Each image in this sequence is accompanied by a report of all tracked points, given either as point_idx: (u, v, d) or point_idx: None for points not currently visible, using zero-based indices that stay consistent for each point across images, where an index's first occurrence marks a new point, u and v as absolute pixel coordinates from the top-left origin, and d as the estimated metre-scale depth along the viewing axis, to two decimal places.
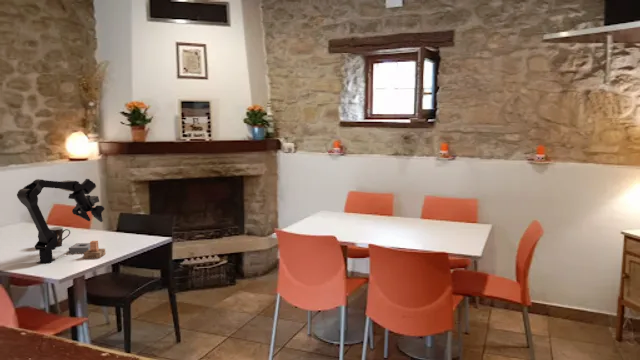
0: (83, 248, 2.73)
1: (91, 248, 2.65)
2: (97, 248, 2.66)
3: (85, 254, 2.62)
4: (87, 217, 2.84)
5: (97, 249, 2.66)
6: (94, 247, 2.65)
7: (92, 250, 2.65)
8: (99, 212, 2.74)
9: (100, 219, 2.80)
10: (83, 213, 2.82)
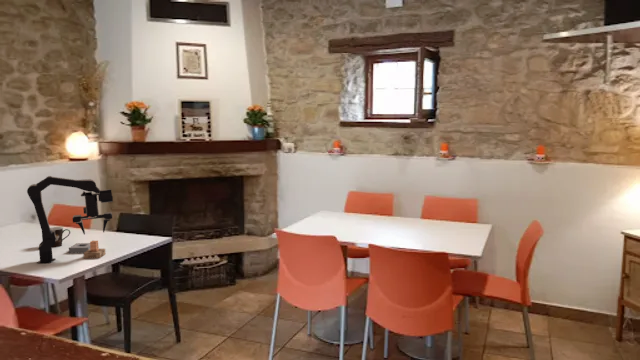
0: (83, 248, 2.73)
1: (91, 248, 2.65)
2: (97, 248, 2.66)
3: (85, 254, 2.62)
4: None
5: (97, 249, 2.66)
6: (94, 247, 2.65)
7: (92, 250, 2.65)
8: None
9: None
10: (82, 223, 2.63)
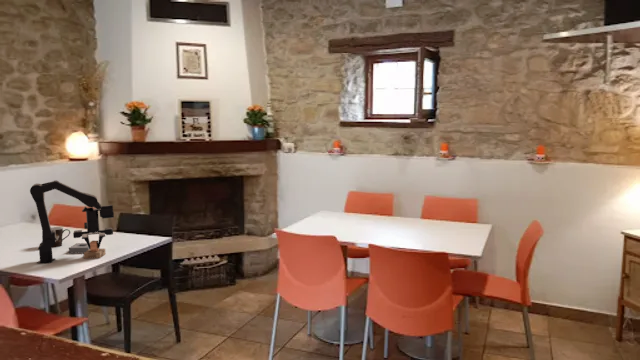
0: (83, 248, 2.73)
1: (91, 248, 2.65)
2: (97, 248, 2.66)
3: (85, 254, 2.62)
4: None
5: (97, 249, 2.66)
6: (94, 247, 2.65)
7: (92, 250, 2.65)
8: (112, 232, 2.68)
9: None
10: (88, 238, 2.64)
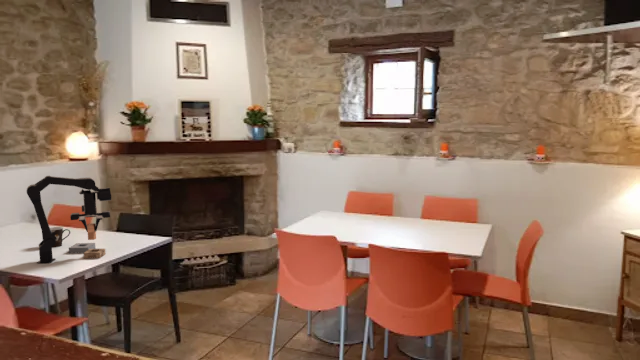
0: (83, 248, 2.73)
1: (88, 231, 2.65)
2: (94, 231, 2.67)
3: (85, 254, 2.62)
4: None
5: (94, 232, 2.67)
6: (91, 230, 2.65)
7: (89, 233, 2.65)
8: None
9: None
10: (85, 221, 2.65)
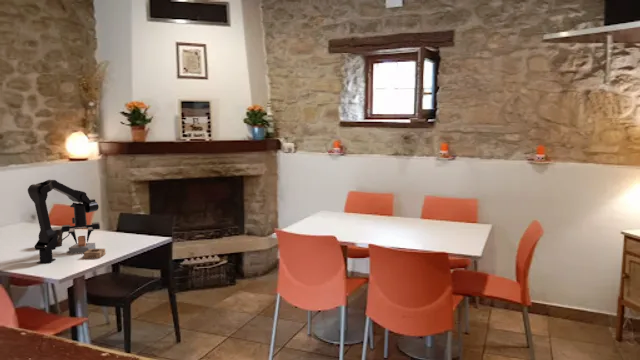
0: (83, 248, 2.73)
1: (79, 243, 2.76)
2: (84, 243, 2.78)
3: (85, 254, 2.62)
4: None
5: (84, 244, 2.78)
6: (82, 242, 2.76)
7: (80, 245, 2.76)
8: (99, 226, 2.79)
9: (88, 238, 2.78)
10: (74, 232, 2.75)
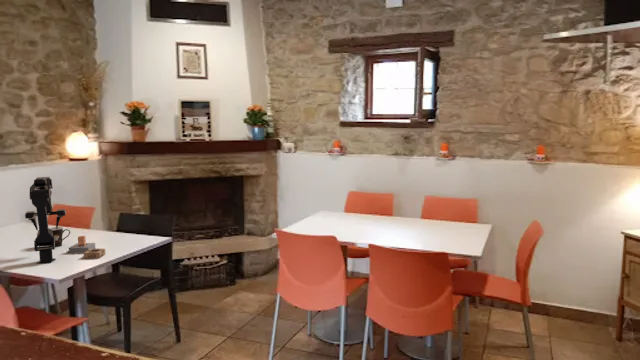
0: (83, 248, 2.73)
1: (79, 243, 2.76)
2: (85, 243, 2.78)
3: (85, 254, 2.62)
4: None
5: (85, 244, 2.78)
6: (82, 242, 2.76)
7: (80, 245, 2.76)
8: (65, 213, 2.73)
9: None
10: (35, 219, 2.68)
